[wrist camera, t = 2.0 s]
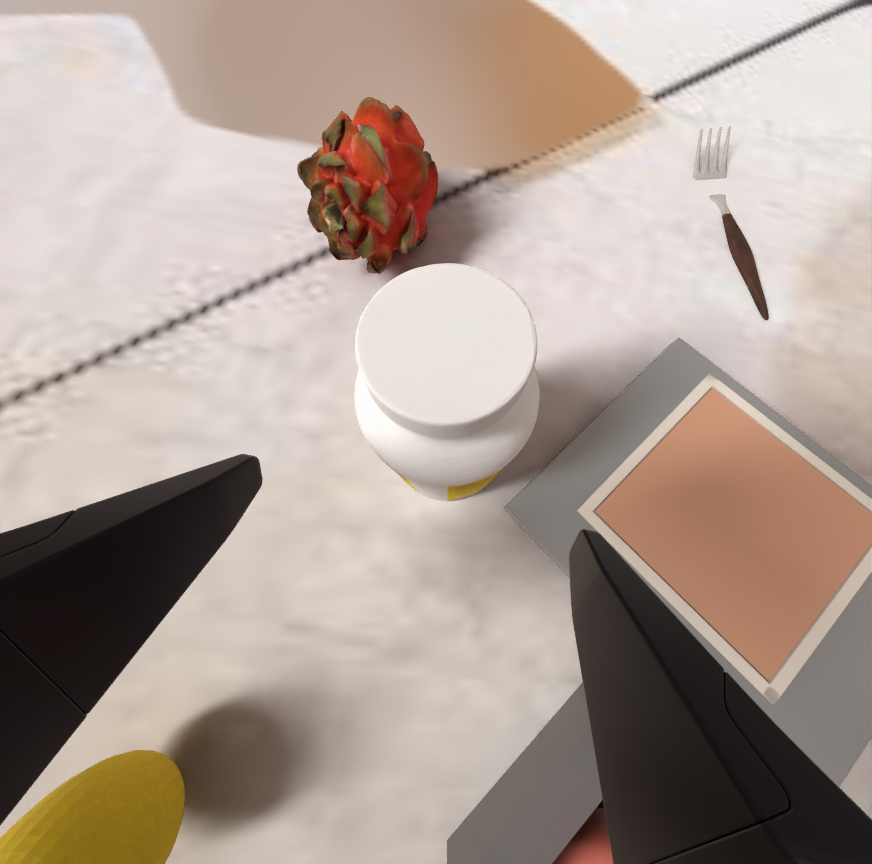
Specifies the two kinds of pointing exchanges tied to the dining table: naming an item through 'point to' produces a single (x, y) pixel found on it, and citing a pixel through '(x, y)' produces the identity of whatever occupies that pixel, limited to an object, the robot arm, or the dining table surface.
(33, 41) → the dining table surface
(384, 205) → the dragon fruit
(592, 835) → the button
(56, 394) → the dining table surface
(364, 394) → the supplement bottle
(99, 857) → the lemon
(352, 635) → the dining table surface
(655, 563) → the picture board
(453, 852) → the button frame
